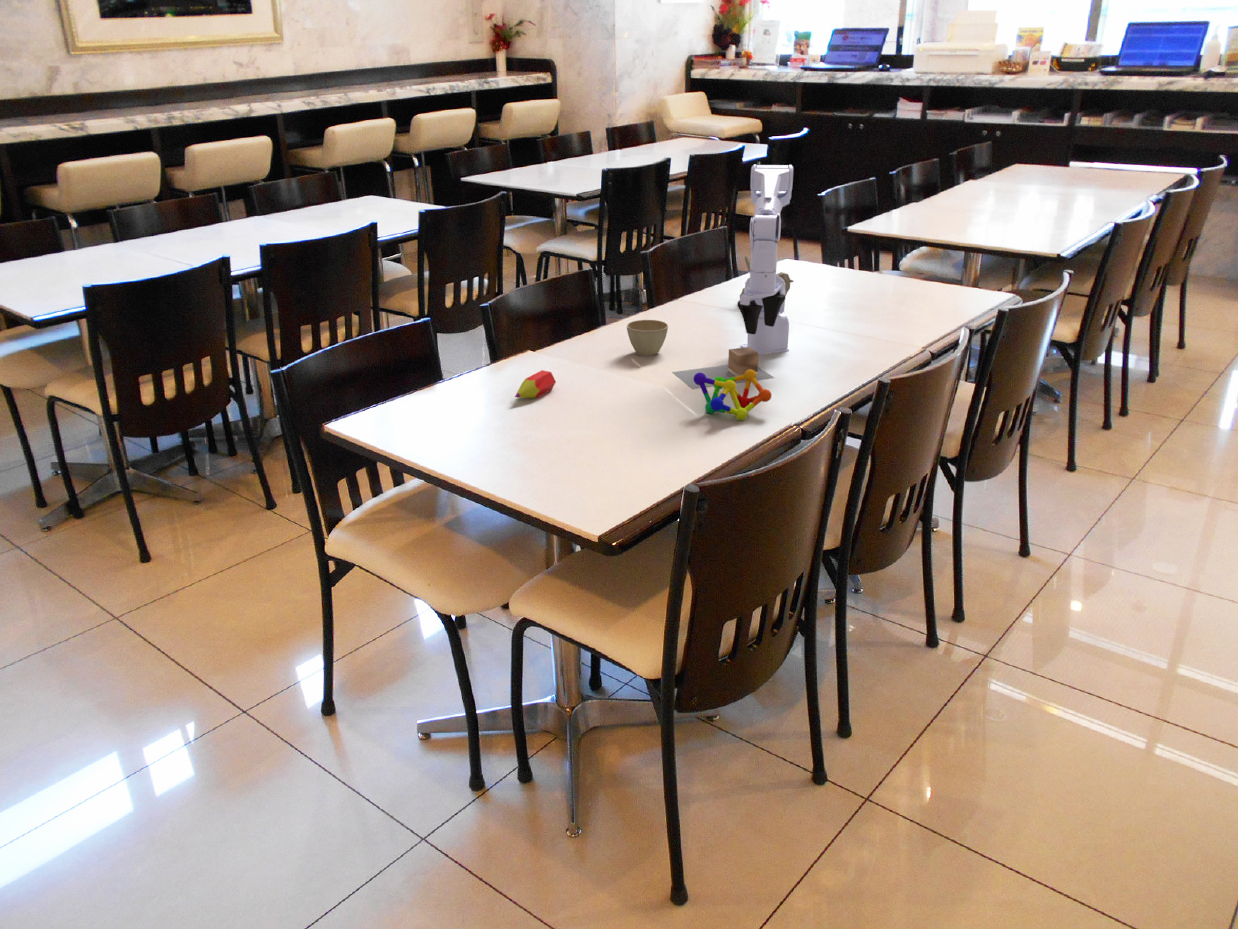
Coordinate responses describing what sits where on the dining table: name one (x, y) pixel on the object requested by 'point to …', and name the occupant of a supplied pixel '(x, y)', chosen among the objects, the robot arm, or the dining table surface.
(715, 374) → the mat
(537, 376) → the pencil
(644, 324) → the flower pot
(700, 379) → the decorative model
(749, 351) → the walnut cube
